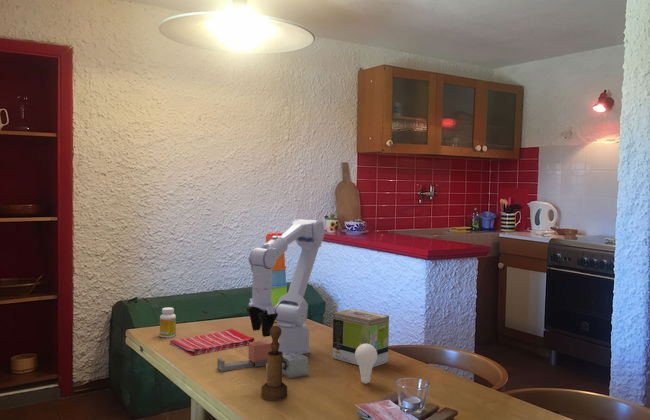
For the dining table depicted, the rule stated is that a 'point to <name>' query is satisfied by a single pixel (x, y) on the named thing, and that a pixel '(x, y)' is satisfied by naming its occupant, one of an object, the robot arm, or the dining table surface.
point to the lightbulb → (365, 360)
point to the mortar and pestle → (274, 370)
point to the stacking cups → (278, 275)
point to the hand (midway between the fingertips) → (261, 333)
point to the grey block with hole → (295, 365)
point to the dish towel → (212, 342)
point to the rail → (233, 365)
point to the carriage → (259, 352)
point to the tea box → (360, 334)
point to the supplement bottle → (167, 323)
